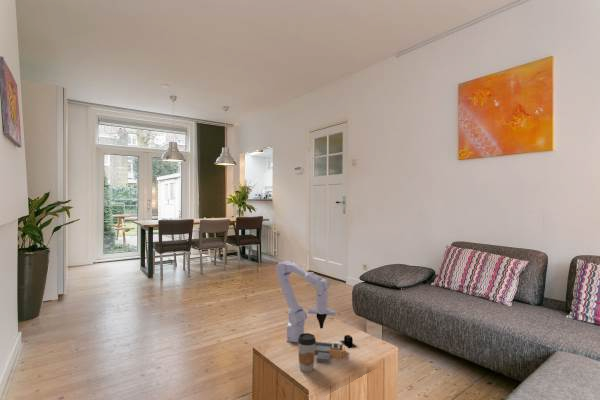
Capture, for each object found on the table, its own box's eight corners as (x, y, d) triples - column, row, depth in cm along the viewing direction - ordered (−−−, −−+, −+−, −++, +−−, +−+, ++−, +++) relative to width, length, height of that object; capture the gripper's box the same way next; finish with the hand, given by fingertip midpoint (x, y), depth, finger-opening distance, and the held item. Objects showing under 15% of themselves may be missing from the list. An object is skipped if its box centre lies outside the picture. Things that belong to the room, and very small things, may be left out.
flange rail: (310, 354, 160) (311, 348, 160) (313, 347, 168) (313, 341, 168) (343, 358, 157) (343, 351, 157) (344, 350, 165) (344, 344, 165)
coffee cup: (299, 374, 142) (299, 341, 142) (295, 364, 150) (296, 333, 150) (317, 372, 143) (317, 339, 143) (312, 363, 152) (313, 332, 152)
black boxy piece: (336, 341, 177) (337, 332, 177) (348, 339, 180) (348, 331, 180) (348, 350, 166) (349, 342, 166) (360, 348, 169) (360, 340, 169)
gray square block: (316, 362, 153) (316, 358, 153) (318, 356, 159) (318, 352, 159) (329, 363, 152) (329, 359, 152) (330, 357, 158) (330, 353, 158)
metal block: (331, 355, 160) (331, 345, 160) (332, 351, 164) (332, 342, 164) (339, 356, 159) (339, 346, 159) (339, 352, 163) (339, 342, 163)
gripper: (307, 303, 166) (306, 329, 166) (334, 305, 163) (334, 331, 163) (309, 299, 173) (309, 324, 173) (336, 301, 170) (335, 326, 170)
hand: (321, 327), depth 168 cm, fingers closed
